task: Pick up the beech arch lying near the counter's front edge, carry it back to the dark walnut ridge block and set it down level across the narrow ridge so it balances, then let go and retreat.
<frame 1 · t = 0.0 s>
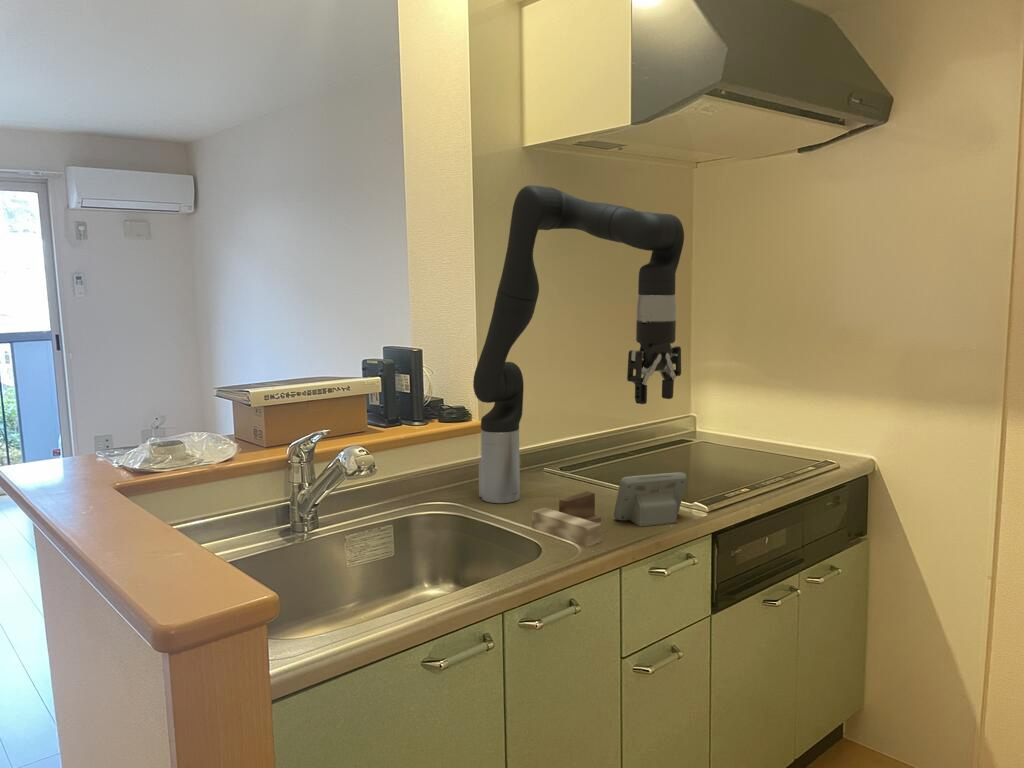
hand: (654, 401, 153), 29 cm above the counter, fingers open, 8 cm apart
digital clock: (649, 520, 173), on the counter
beech arch: (565, 536, 163), on the counter
walnut ridge: (577, 521, 171), on the counter
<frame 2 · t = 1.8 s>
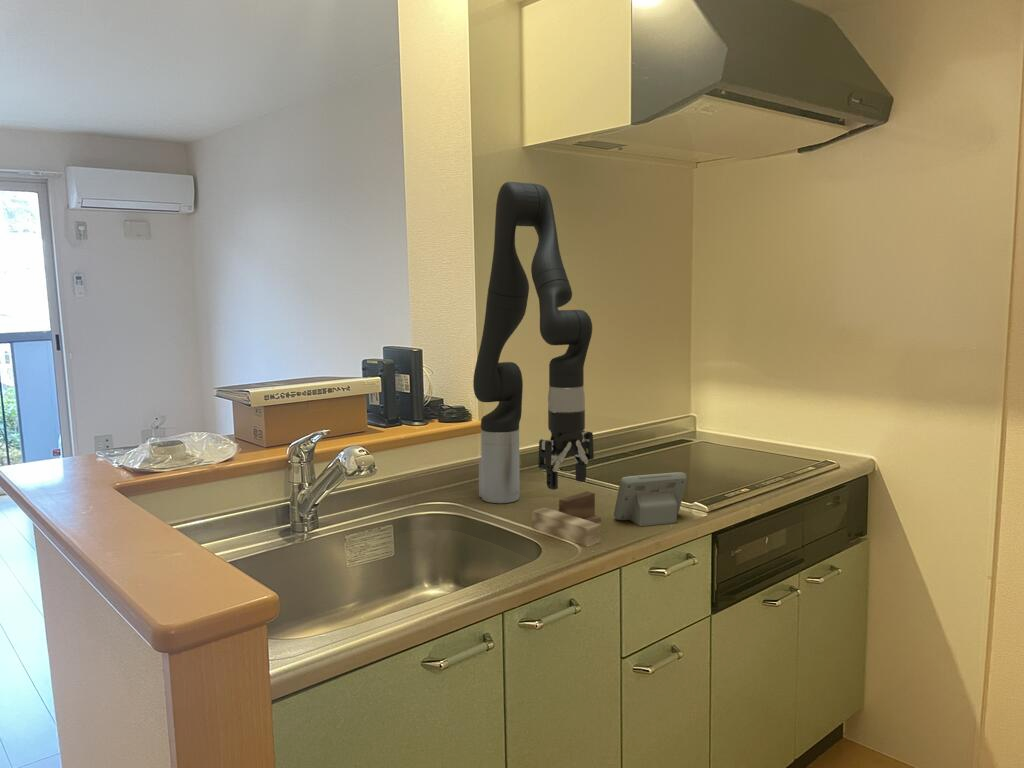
hand: (566, 484, 161), 11 cm above the counter, fingers open, 8 cm apart
nothing on the counter moved.
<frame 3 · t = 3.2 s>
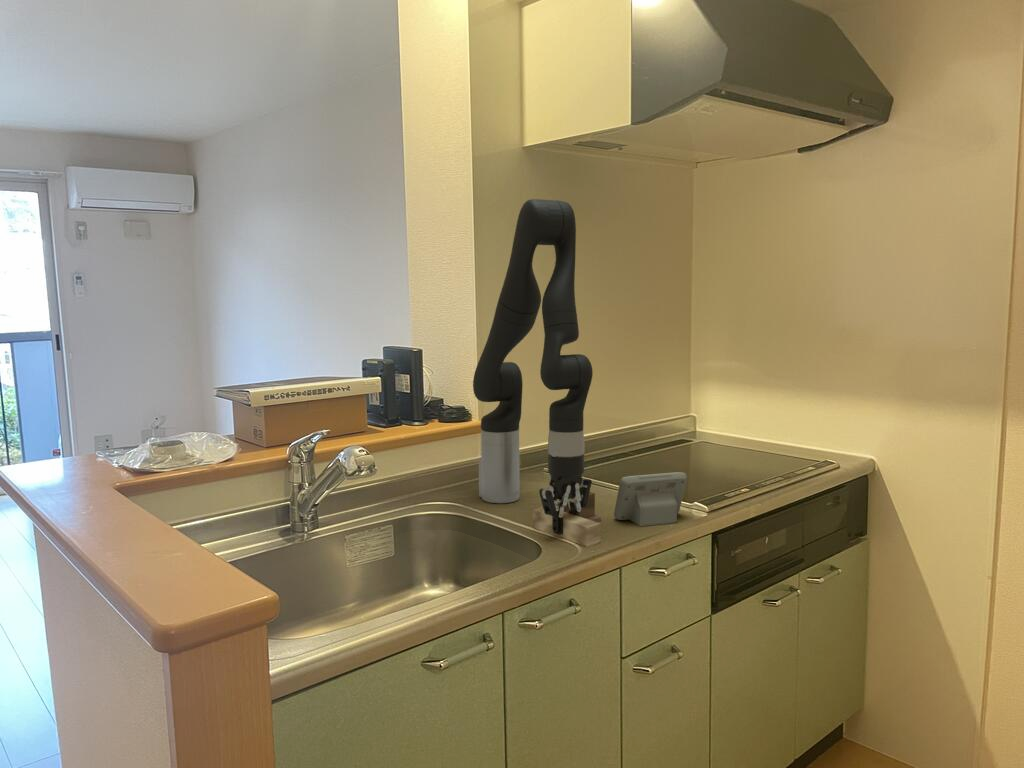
hand: (565, 530, 163), 1 cm above the counter, fingers closed on beech arch, 4 cm apart
beech arch: (565, 534, 163), on the counter, touching gripper
everything else where it was.
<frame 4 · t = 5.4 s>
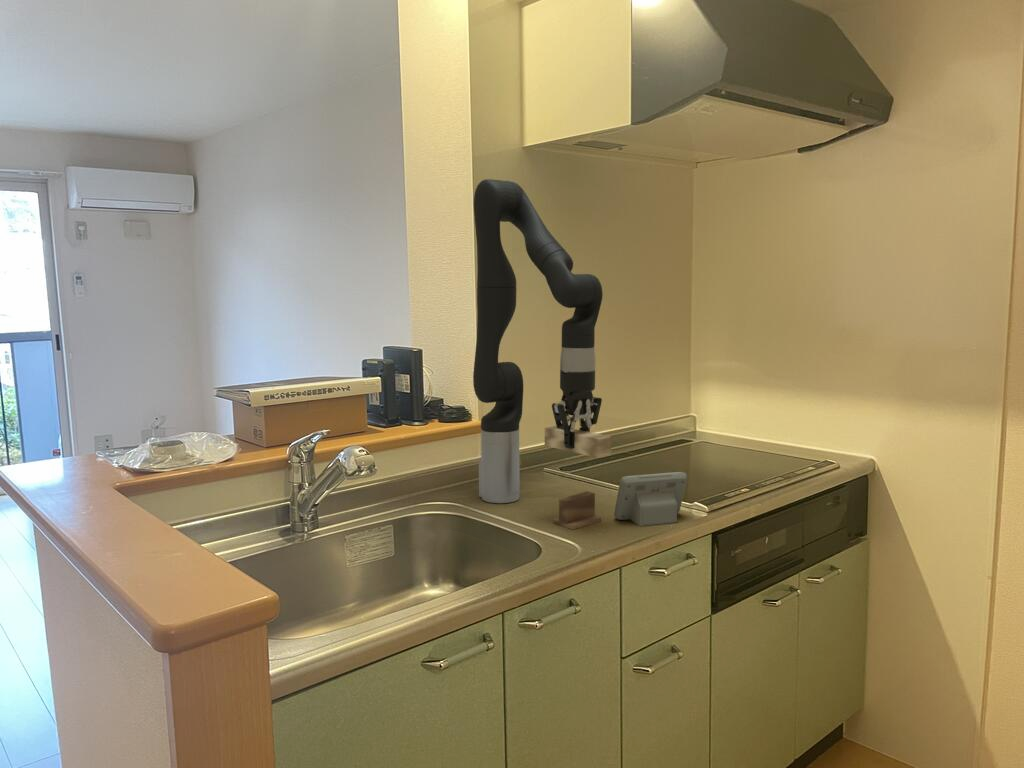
hand: (576, 446, 169), 17 cm above the counter, fingers closed on beech arch, 4 cm apart
beech arch: (576, 450, 169), point 16 cm above the counter, touching gripper
everything else where it was.
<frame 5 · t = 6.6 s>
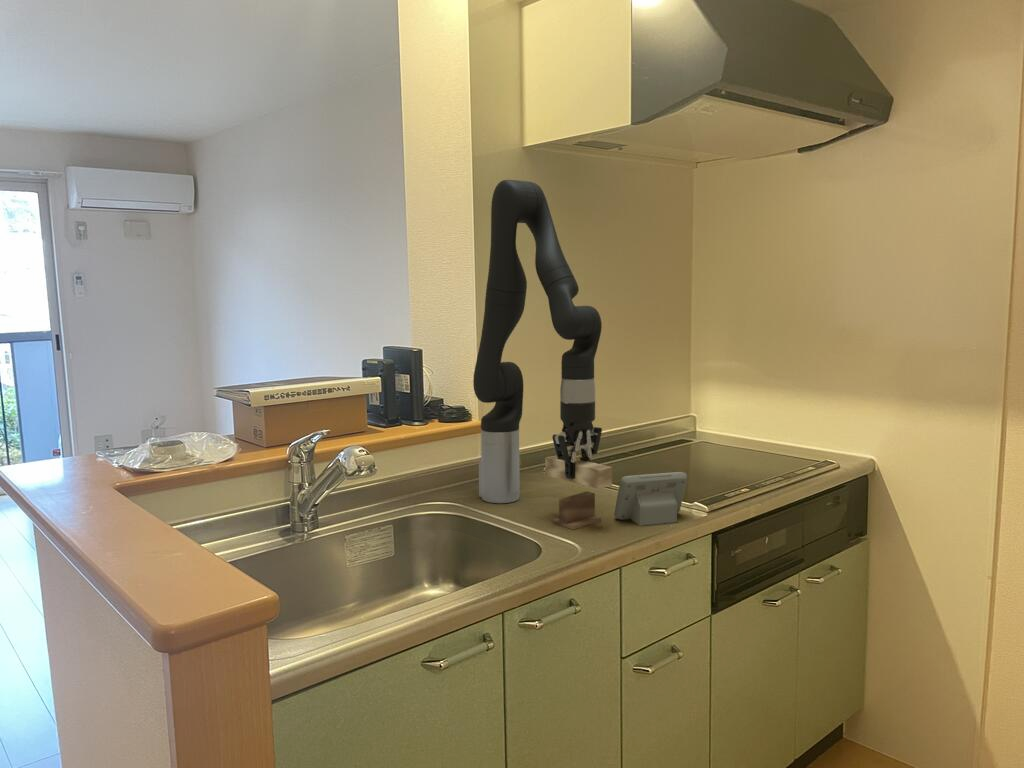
hand: (577, 476, 170), 10 cm above the counter, fingers closed on beech arch, 4 cm apart
beech arch: (577, 480, 170), point 9 cm above the counter, touching gripper
everything else where it was.
when the fingers open (7 cm above the counter, at t = 7.5 s): beech arch stays where it is, resting on walnut ridge.
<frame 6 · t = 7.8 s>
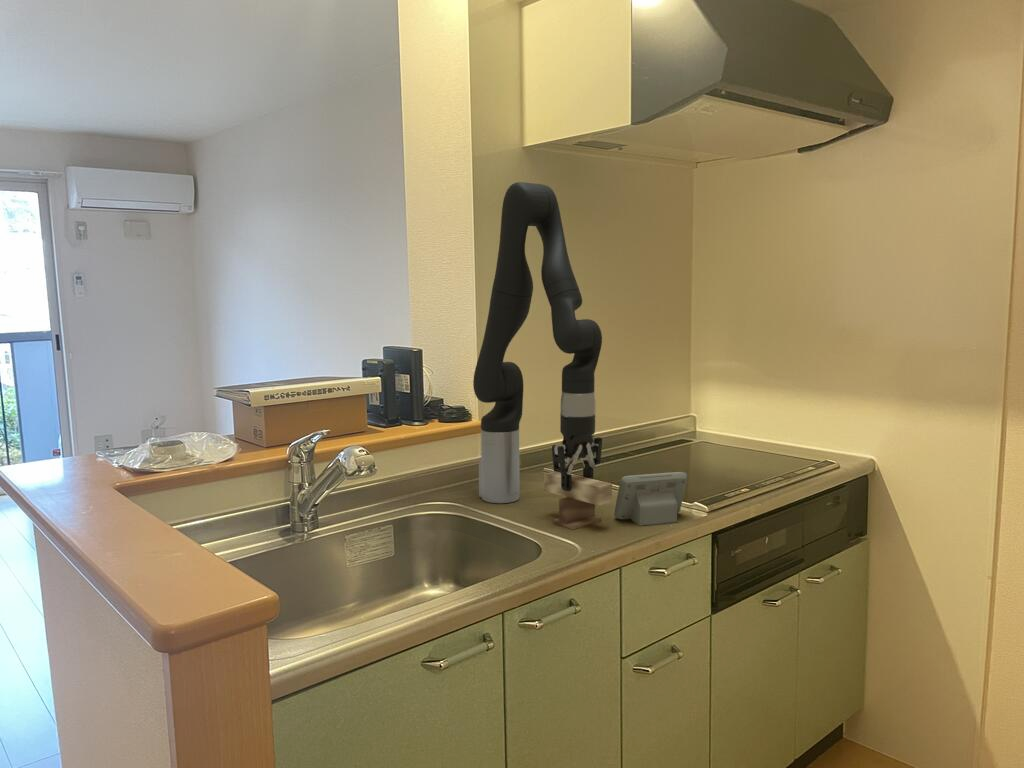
hand: (577, 487, 170), 8 cm above the counter, fingers open, 6 cm apart
beech arch: (577, 496, 171), point 6 cm above the counter, touching walnut ridge
everything else where it was.
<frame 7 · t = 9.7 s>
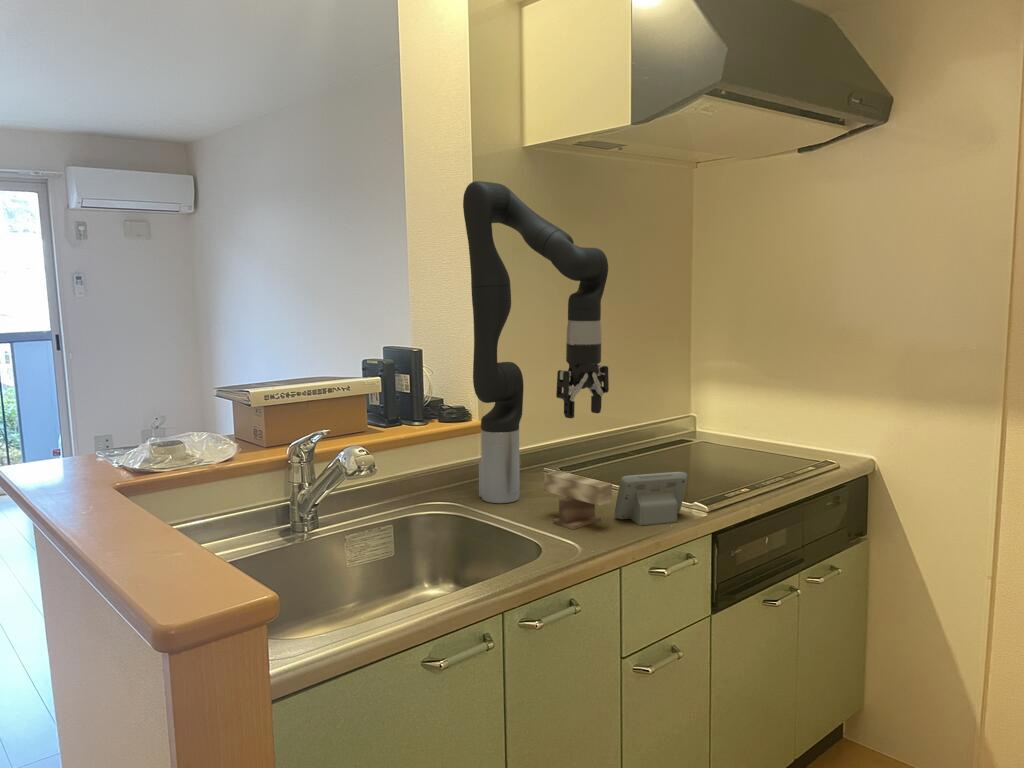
hand: (582, 415, 170), 23 cm above the counter, fingers open, 8 cm apart
nothing on the counter moved.
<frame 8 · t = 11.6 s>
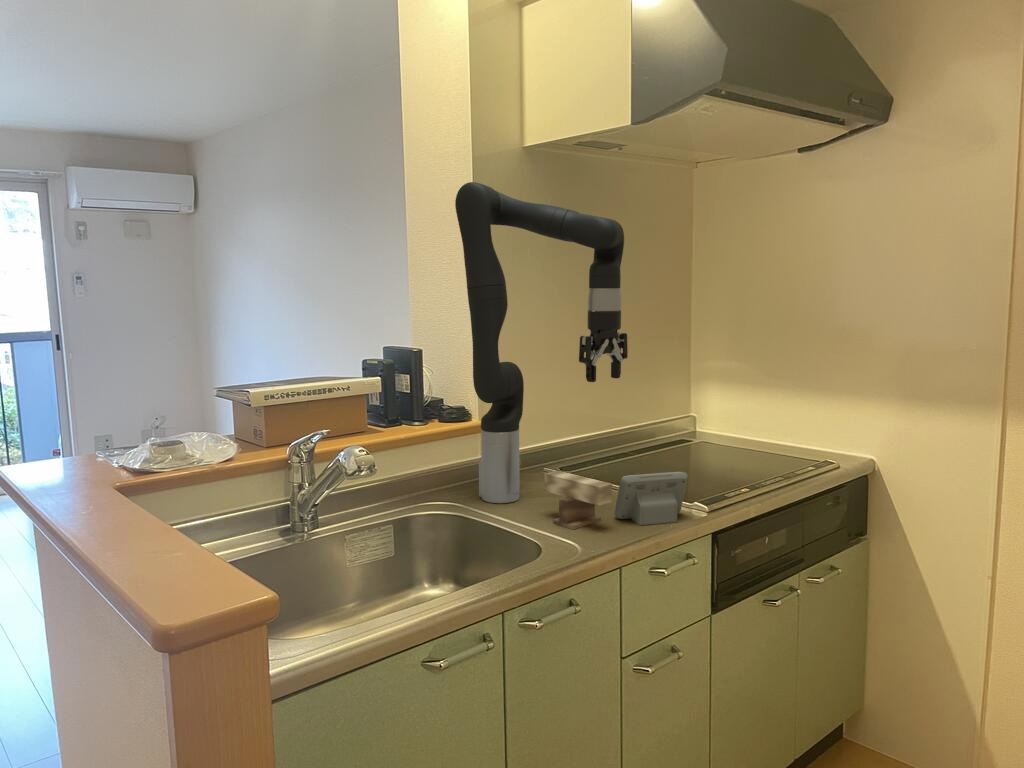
hand: (603, 379, 178), 30 cm above the counter, fingers open, 8 cm apart
nothing on the counter moved.
at the end: beech arch 0.0 cm off-centre on the walnut ridge, point 5.8 cm above the walnut ridge's base; beech arch tilted 0°; beech arch touching walnut ridge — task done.
